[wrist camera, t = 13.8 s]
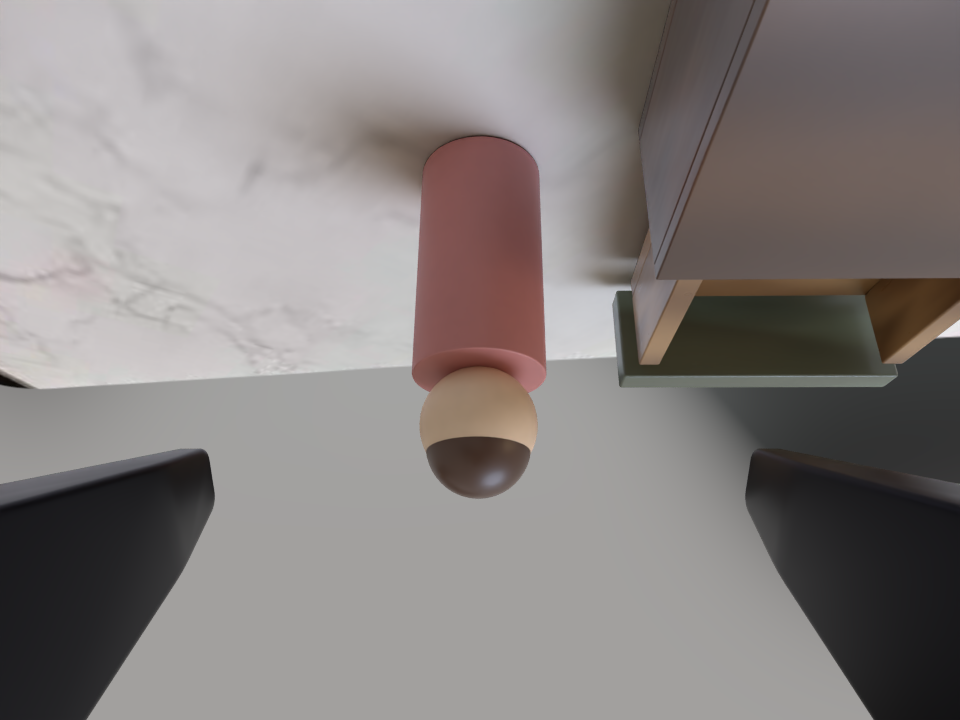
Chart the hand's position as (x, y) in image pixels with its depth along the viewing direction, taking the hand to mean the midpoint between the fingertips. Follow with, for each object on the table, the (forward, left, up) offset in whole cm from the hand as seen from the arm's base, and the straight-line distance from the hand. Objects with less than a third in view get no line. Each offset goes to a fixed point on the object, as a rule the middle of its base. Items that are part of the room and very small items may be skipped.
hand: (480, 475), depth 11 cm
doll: (+5, -6, -13) cm, 15 cm away
